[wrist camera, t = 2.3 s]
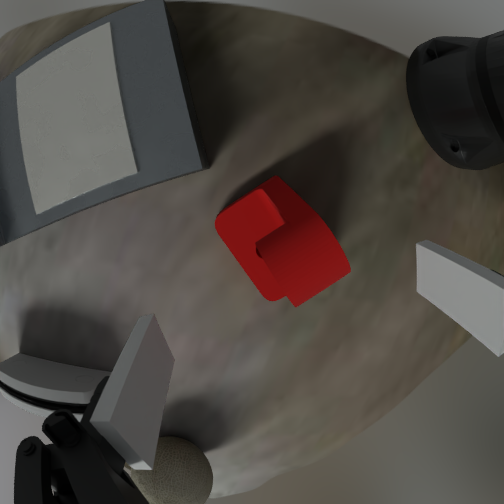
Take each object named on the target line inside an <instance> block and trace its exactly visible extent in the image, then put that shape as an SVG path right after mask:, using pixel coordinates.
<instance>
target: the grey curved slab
mask: <svg viewBox="0 0 504 504" xmlns="http://www.w3.org/2000/svg"><path fill="white" fill-rule="evenodd" d="M111 373H112V372H109V371H102V370H96V369H90V368H84V367H78V366H73V365H68V364H63V363H58V362H54V361H49V360H45V359H41V358H36V357H33V356H29V355H25V354H21V353H18V354H16V355H14V356H12V357H11V358H9V359H7V360H5V361H3V362H1V363H0V391H1V393H2V395H3V396H4V397H5V398H6V399H7V400H9V401H10V402H12V403H13V404H14V405H16V406H18V407H20V408H22V409H23V410H26V411H28V412H31V413H33V414H36V415H39V416H43V417H45V418H47V417H48V416H49V415H50V414H51V413H53V412H54V411H57V410H59V409H67V410H70V411H71V412H72V414H73V415H74V416H75V417H76V419H77V420H78V421H79V422H80V421H81V419H82V416H83V414H84V412H85V410H86V408H87V406H88V403H90V399H91V397H92V395H94V394H93V393H94V391H95V389H96V387H97V385H98V384H99V383H100V382H101V380H102V379H103V378H104V377H105V376H110V375H111Z"/></svg>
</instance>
